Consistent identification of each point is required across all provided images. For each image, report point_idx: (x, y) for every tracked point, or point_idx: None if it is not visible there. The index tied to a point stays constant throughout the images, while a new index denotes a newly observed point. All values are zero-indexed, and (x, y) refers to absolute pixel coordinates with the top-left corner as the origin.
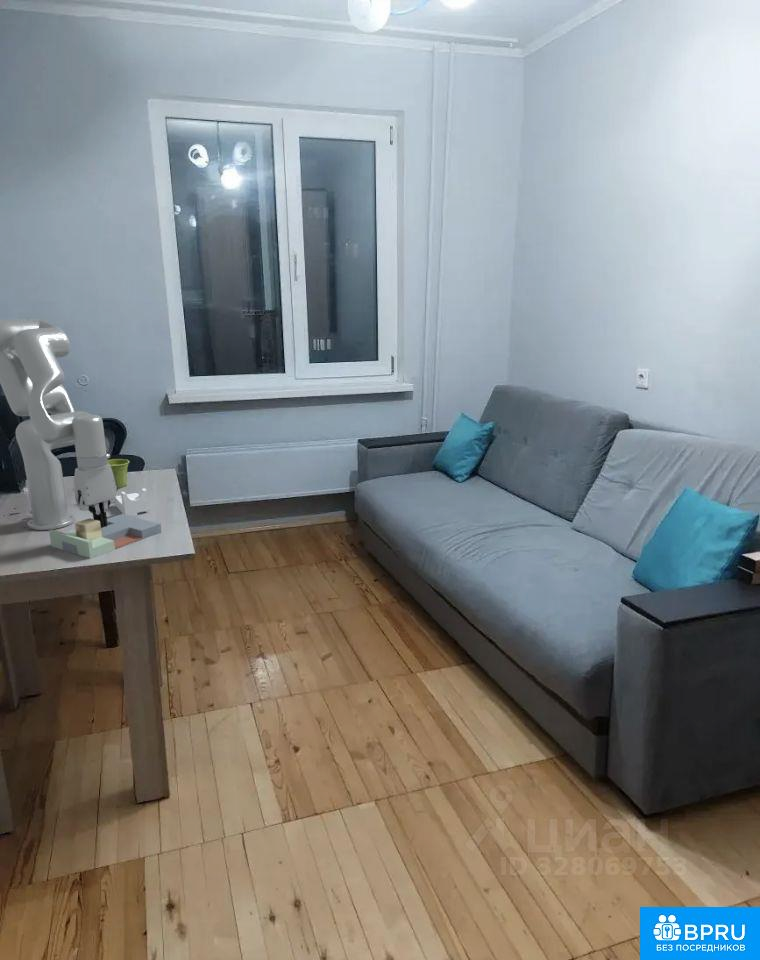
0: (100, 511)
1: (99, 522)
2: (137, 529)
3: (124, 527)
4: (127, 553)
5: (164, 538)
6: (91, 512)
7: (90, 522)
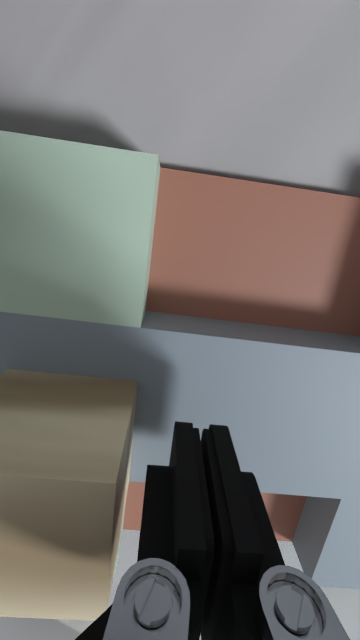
0: (224, 633)
1: (100, 605)
2: (319, 557)
3: (330, 476)
4: (115, 588)
5: (328, 595)
6: (108, 611)
7: (22, 585)
